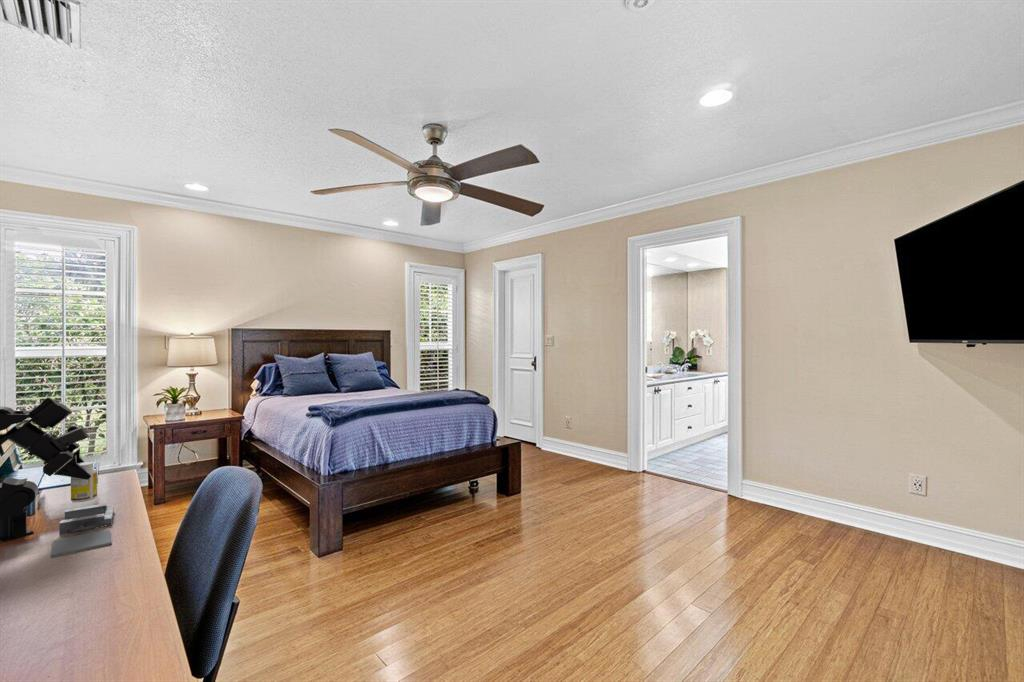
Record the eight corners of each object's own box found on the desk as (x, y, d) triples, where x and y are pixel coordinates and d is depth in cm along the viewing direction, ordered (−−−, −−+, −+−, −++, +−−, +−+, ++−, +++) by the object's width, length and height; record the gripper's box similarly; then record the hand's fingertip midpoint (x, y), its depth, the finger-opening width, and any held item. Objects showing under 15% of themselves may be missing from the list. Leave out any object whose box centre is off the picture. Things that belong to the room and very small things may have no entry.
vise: (110, 530, 130) (110, 519, 130) (56, 540, 124) (56, 528, 124) (113, 512, 144) (113, 502, 144) (65, 520, 137) (65, 509, 137)
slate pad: (53, 542, 122) (53, 540, 122) (109, 531, 129) (110, 529, 129) (51, 557, 114) (51, 555, 114) (111, 544, 121) (111, 542, 121)
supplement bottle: (89, 495, 138) (89, 460, 138) (101, 497, 137) (101, 462, 136) (65, 501, 133) (65, 465, 133) (78, 504, 131) (78, 466, 131)
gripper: (60, 423, 125) (115, 459, 132) (69, 414, 140) (118, 446, 147) (17, 457, 120) (76, 493, 127) (31, 444, 135) (83, 476, 142)
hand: (90, 475), depth 136 cm, fingers closed on supplement bottle, 5 cm apart
